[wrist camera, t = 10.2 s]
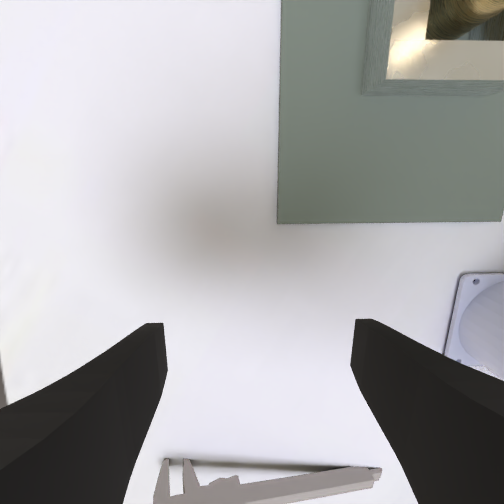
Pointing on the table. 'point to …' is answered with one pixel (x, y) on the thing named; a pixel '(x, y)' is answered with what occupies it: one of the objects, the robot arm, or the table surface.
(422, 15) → the silver square socket
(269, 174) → the table surface
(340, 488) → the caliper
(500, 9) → the pin
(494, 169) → the mat
